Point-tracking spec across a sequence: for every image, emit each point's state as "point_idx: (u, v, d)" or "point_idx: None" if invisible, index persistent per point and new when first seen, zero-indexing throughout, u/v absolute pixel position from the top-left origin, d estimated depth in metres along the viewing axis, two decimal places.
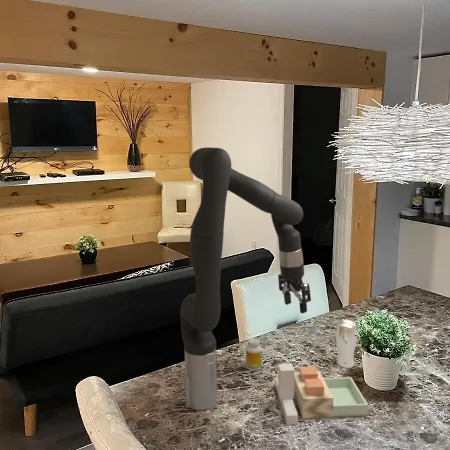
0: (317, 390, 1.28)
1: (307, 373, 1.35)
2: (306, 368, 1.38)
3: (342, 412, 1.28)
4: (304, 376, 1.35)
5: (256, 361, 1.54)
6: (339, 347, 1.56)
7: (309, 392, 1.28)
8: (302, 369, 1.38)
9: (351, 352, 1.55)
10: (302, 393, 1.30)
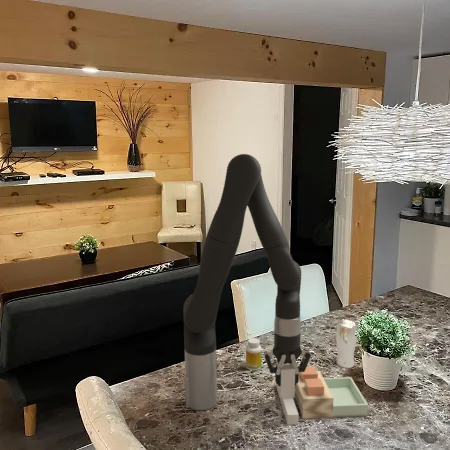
0: (317, 390, 1.28)
1: (307, 373, 1.35)
2: (306, 368, 1.38)
3: (342, 412, 1.28)
4: (304, 376, 1.35)
5: (256, 361, 1.54)
6: (339, 347, 1.56)
7: (309, 392, 1.28)
8: None
9: (351, 352, 1.55)
10: (302, 393, 1.30)
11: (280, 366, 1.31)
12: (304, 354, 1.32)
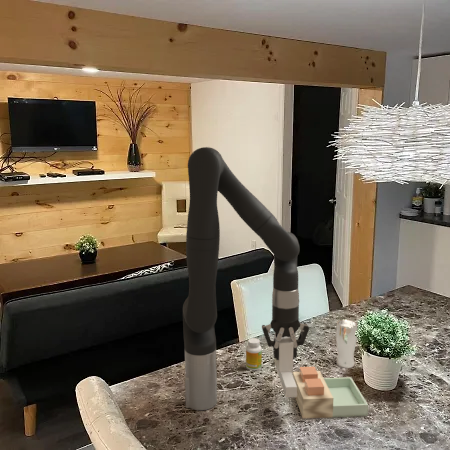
0: (317, 390, 1.28)
1: (307, 373, 1.35)
2: (306, 368, 1.38)
3: (342, 412, 1.28)
4: (304, 376, 1.35)
5: (256, 361, 1.54)
6: (339, 347, 1.56)
7: (309, 392, 1.28)
8: (302, 369, 1.38)
9: (351, 352, 1.55)
10: (302, 393, 1.30)
11: (278, 339, 1.29)
12: (302, 327, 1.30)
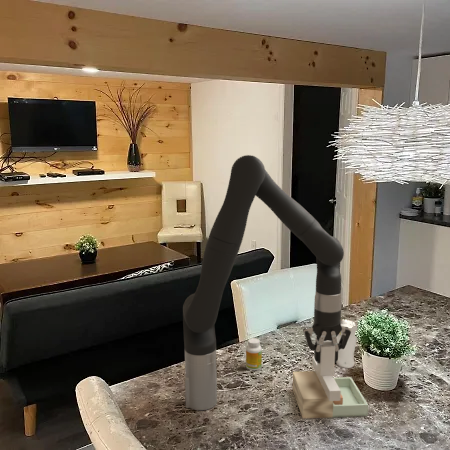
0: None
1: None
2: None
3: (342, 412, 1.28)
4: None
5: (256, 361, 1.54)
6: None
7: None
8: None
9: (351, 352, 1.55)
10: (302, 393, 1.30)
11: (320, 343, 1.30)
12: (344, 331, 1.31)
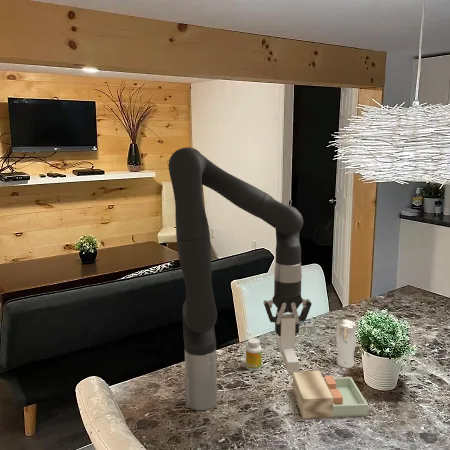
0: None
1: None
2: None
3: (342, 412, 1.28)
4: (334, 385, 1.36)
5: (256, 361, 1.54)
6: (339, 347, 1.56)
7: (337, 398, 1.29)
8: None
9: (351, 352, 1.55)
10: (302, 393, 1.30)
11: (280, 315, 1.28)
12: (305, 303, 1.29)
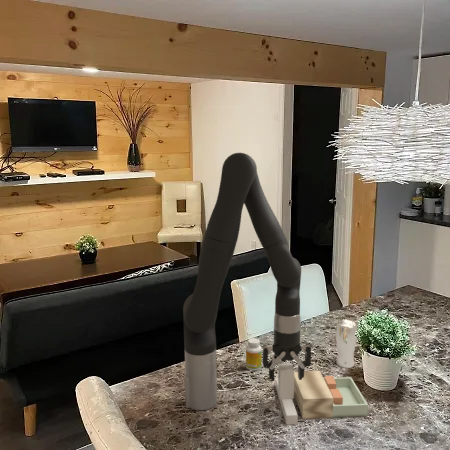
0: None
1: None
2: None
3: (342, 412, 1.28)
4: (334, 385, 1.36)
5: (256, 361, 1.54)
6: (339, 347, 1.56)
7: (337, 398, 1.29)
8: None
9: (351, 352, 1.55)
10: (302, 393, 1.30)
11: (276, 362, 1.30)
12: (305, 349, 1.32)
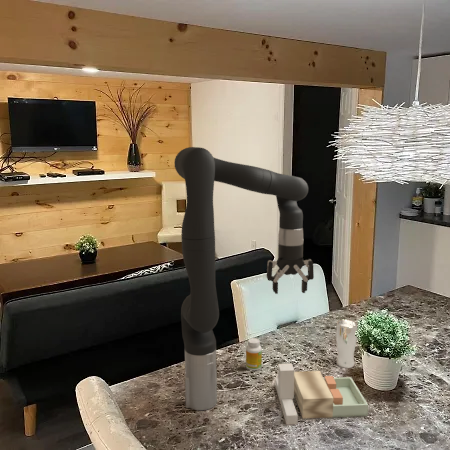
0: None
1: None
2: None
3: (342, 412, 1.28)
4: (334, 385, 1.36)
5: (256, 361, 1.54)
6: (339, 347, 1.56)
7: (337, 398, 1.29)
8: None
9: (351, 352, 1.55)
10: (302, 393, 1.30)
11: (280, 274, 1.39)
12: (307, 263, 1.40)
